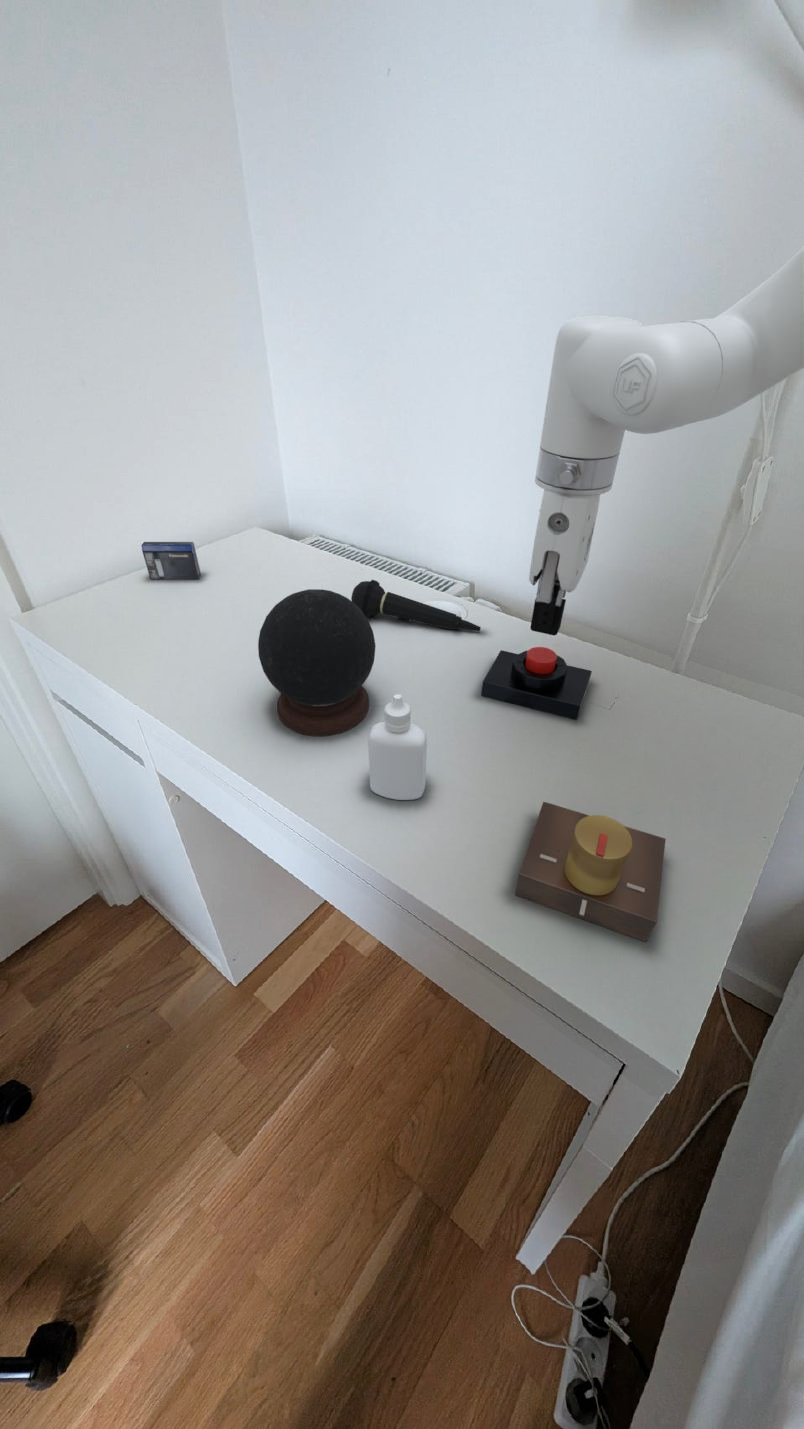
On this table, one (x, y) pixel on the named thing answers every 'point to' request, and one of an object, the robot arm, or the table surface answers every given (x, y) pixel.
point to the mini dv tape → (171, 560)
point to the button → (541, 660)
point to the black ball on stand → (318, 661)
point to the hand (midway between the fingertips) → (544, 629)
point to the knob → (597, 854)
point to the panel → (617, 910)
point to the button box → (537, 685)
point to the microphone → (404, 607)
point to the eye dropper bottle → (397, 754)
